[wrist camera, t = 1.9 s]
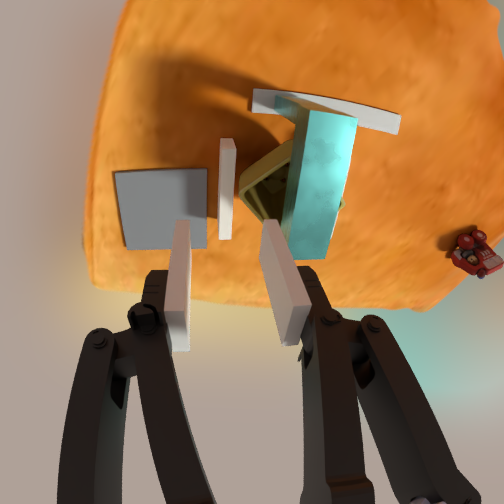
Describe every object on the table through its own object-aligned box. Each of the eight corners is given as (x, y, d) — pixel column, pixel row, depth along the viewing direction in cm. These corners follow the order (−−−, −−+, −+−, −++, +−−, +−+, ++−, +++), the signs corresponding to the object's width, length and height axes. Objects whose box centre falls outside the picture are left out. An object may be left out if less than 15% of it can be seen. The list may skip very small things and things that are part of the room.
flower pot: (286, 124, 32) (310, 143, 25) (319, 175, 37) (347, 206, 30) (229, 164, 34) (236, 194, 27) (267, 210, 39) (282, 248, 32)
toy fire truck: (450, 237, 48) (479, 268, 40) (482, 226, 48) (510, 252, 40) (443, 261, 52) (468, 292, 44) (475, 249, 52) (500, 276, 44)
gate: (271, 94, 29) (310, 110, 18) (304, 98, 29) (358, 118, 19) (260, 196, 37) (284, 260, 26) (289, 196, 37) (324, 259, 26)
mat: (116, 171, 32) (114, 173, 32) (207, 168, 34) (207, 169, 34) (128, 247, 39) (127, 250, 39) (206, 246, 41) (206, 248, 41)
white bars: (223, 86, 28) (225, 88, 24) (399, 115, 32) (420, 123, 28) (217, 219, 39) (218, 239, 35) (371, 221, 43) (386, 238, 39)
